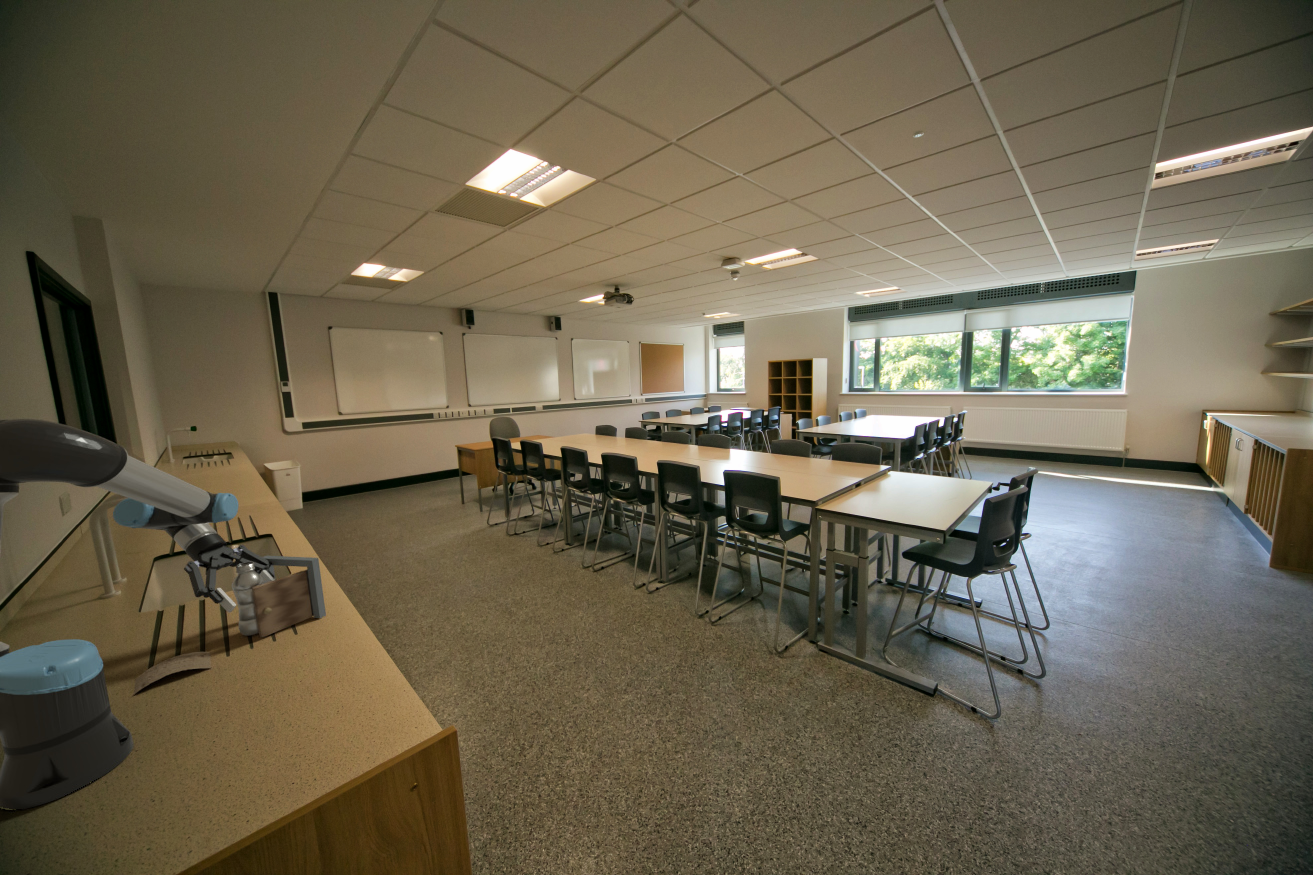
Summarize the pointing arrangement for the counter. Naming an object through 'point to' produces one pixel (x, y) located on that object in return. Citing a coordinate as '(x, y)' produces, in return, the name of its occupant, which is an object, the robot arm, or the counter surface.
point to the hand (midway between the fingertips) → (255, 598)
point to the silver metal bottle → (246, 597)
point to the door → (282, 602)
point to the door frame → (313, 576)
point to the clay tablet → (173, 667)
